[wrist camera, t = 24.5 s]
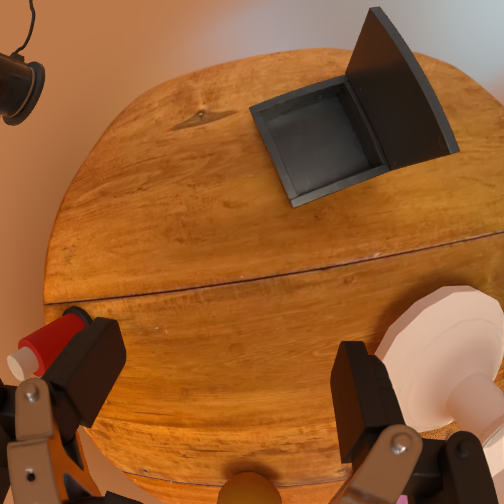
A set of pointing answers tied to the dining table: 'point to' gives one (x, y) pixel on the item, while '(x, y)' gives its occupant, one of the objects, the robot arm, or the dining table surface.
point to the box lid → (398, 96)
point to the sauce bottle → (43, 346)
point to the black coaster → (80, 313)
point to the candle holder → (450, 365)
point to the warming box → (319, 140)
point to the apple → (248, 490)
